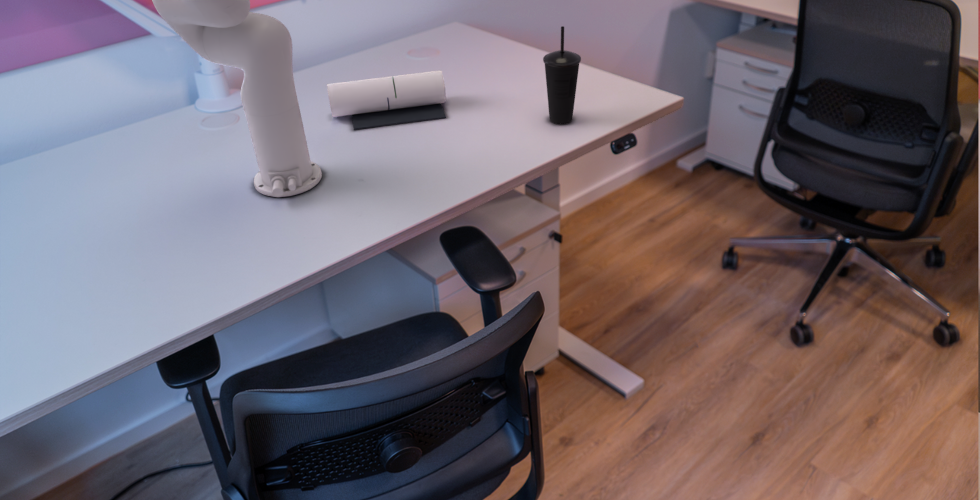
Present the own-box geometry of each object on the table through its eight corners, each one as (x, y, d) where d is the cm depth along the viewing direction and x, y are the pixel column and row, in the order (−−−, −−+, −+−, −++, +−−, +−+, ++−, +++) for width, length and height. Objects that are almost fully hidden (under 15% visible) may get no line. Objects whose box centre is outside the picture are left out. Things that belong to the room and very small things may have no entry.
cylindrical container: (441, 93, 167) (331, 107, 163) (439, 64, 162) (326, 78, 159) (446, 108, 162) (333, 123, 158) (444, 79, 157) (327, 93, 153)
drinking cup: (578, 111, 158) (582, 20, 146) (579, 127, 152) (582, 33, 140) (543, 111, 159) (543, 20, 147) (542, 127, 152) (542, 33, 141)
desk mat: (446, 118, 158) (446, 116, 158) (353, 130, 155) (353, 128, 155) (433, 86, 172) (433, 84, 172) (348, 96, 169) (348, 95, 169)
